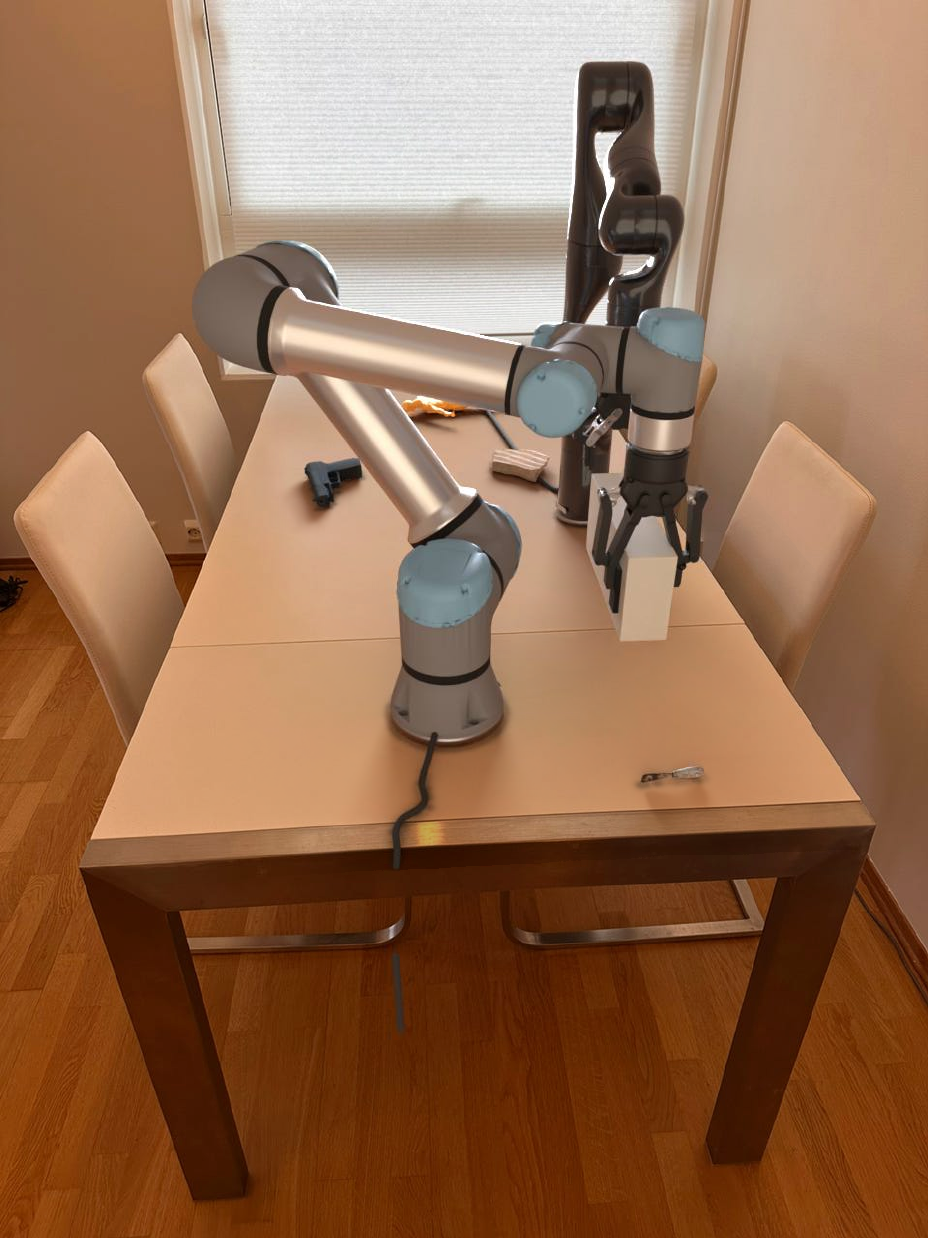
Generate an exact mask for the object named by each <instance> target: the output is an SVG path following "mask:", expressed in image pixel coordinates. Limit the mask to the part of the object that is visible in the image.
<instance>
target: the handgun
mask: <svg viewBox="0 0 928 1238" xmlns="http://www.w3.org/2000/svg"><path fill="white" fill-rule="evenodd" d="M303 471H304V474H305V475H306V477H307V479H308V482H309V485H310V488H311V491H312V493H313V497H314V498H313V499H311V500H312V502H314V503H315V504H316V506H318V508H321V509H323V508H324V509H325V508H329V507H330V505H331V503H332V504H334V502H335V500H334V499H335V498H334V492H333V490H336V489H340V488H341V483H343V482H347V481H351V480H355V479H360V478H361V479H362V478H363V468H362V462H361V461H360V459H359V458H358V457H350V458H346V459H345V458H344V459H341V460H336V461H332V462H329V463H326V462H324V461H321V460H319V461H311V462H308V463H306V464H305V467H304V468H303Z"/></svg>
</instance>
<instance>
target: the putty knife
mask: <svg viewBox="0 0 928 1238" xmlns="http://www.w3.org/2000/svg"><path fill="white" fill-rule="evenodd" d="M704 772H705V771H704V768H702V767H701V766H697V765H695V766H688V767H683V768H679V769H675V770H673V771H671V772H653V773H652V772H651V773H650V772H649V773H644V774H642V776H641V779H640V783H642V784H645V783H648V782H653V781H659V780H665V779H668V778H673V779H674V778H675V779H693V778H694V779H695V778H700V777H702V776H703V775H704Z"/></svg>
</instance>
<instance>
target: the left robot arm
mask: <svg viewBox="0 0 928 1238" xmlns="http://www.w3.org/2000/svg"><path fill="white" fill-rule="evenodd" d="M339 286H340V285H339V281H338V277H337V275H336V273H335V270H334V268H333V267H332V265H331V264H330V263H329V261H328V259H326V258H325V257H324V255H322V254H321V252H319V251H317V249H315V248H313V247H312V246H310V245H309V244H306V243H304V242H301V241H297V240H292V239H291V240H289V239H284V240H271V241H266V242H263V243H260V244H258V245H256V247H253V248H251V249H249V250H246V251H243V252H241V253H238V254H235V255H232V256H229V257H226V258H223V259H221V260H219V261H217V262H214V263H213V264H212V265H211V266H209V267H208V268H207V269H206V270H205V271H204V272H203V273H202V275H201V276H200V277H199V279H198V281H197V283H196V285H195V287H194V290H193V294H192V298H191V299H192V300H191V312H192V314H191V315H192V319H193V322H194V325H195V329H196V330H197V332H198V334H199V336H200V338H201V339H202V341H203V342H204V343H205V345H206V346H207V347H208V348H209V349H210V350H211V351H212V352H213V353H215V354H216V355H217V356H218V357H219V358H221V359H222V360H225V361H226V362H229V363H231V364H234V365H236V366H239V367H242V368H247V369H249V370H254V371H258V372H261V373H267V374H272V375H277V376H282V377H287V376H289V377H293V378H296V379H298V381H299V382H300V383H301V385H302V386H303V387H304V389H305V390H306V391H307V392H308V394H309V395H310V396H311V398H312V399H313V401H314V402H315V403H316V405H318V407H319V408H320V410H321V411H322V412H323V414H324V415H325V416H326V418H327V419H328V420H329V421H330V423H331V424H332V425H333V427H334V428H335V429H336V431H337V432H338V433H339V434H340V436H341V437H342V438H343V440H344V441H345V442H346V444H347V445H348V446H349V448H350V450H352V452H353V453H354V454H355V456H356V458H359V459H360V463H361V464H362V465H363V466H364V467H365V469H366V470H367V471H368V472H369V474H370V476H371V477H372V479H374V480H375V482H376V484H377V485H378V486H379V487H380V488H381V489H382V491H383V492H384V494H385V495H386V496H387V498H388V499H389V500H390V502H391V503H392V505H394V507H395V508H396V510H397V511H398V512H399V514H400V515H401V516H402V518H403V519H404V520H405V521H406V523H407V524H408V533H407V542H408V543H409V545H410V546H411V547H412V549H411V550H410V551H409V552H408V553H406V555H405V556H404V558H403V559H402V561H401V562H400V564H399V567H398V572H397V582H396V591H395V592H396V599H397V603H398V620H399V633H400V634H399V638H400V639H399V640H400V655H401V667H400V669H399V672H398V675H397V678H396V681H395V684H394V687H393V690H392V693H391V696H390V704H389V705H390V718H391V721H392V724H393V725H394V727H395V728H396V729H397V731H398V732H399V733H400V734H402V735H403V736H404V737H406V738H407V739H409V740H411V741H413V742H415V743H417V744H420V745H421V744H422V745H425V746H427V750H426V753H425V756H424V760H423V762H422V766H421V769H420V773H419V778H418V790H419V793H420V797H421V800H420V802H419V804H417V805H416V806H415V807H413V808H411V809H409V810H407V811H405V812H404V813H402V814H401V815H399V816H398V818H397V819H396V820H395V822H394V823H393V826H392V829H391V830H392V831H391V837H392V846H393V847H392V848H393V851H392V853H393V855H392V868H393V869H394V870H398V869H399V868H401V857H402V855H401V854H402V847H401V839H400V831H401V828H402V826H403V824H404V823H405V822H406V821H408V820H409V819H411V818H412V817H415V816H417V815H418V814H420V813H421V812H422V811H424V810H425V808H426V807H427V805H428V804H429V794H428V790H427V787H426V781H427V776H428V772H429V768H430V766H431V762H432V760H433V755H434V752H435V748H436V747H437V748H454V747H455V748H457V747H463V746H467V745H471V744H473V743H476V742H480V741H481V740H483V739H485V738H486V737H488V736H489V735H491V734H492V733H493V732H494V731H495V730H496V729H498V727H499V726H500V724H501V722H502V720H503V717H504V697H503V693H502V690H501V688H502V685H501V683H500V682H499V681H498V679H497V677H496V674H495V672H494V668H493V666H492V664H491V654H492V653H491V651H492V649H491V648H492V647H491V645H492V621H493V618H494V615H495V612H496V610H497V609H498V606H499V605H500V602H501V600H502V598H503V597H504V594H505V592H506V590H507V588H508V586H509V584H510V582H511V581H512V580H513V578H514V576H515V575H516V573H517V571H518V568H519V563H520V560H521V556H522V549H523V542H522V536H521V532H520V529H519V527H518V525H517V523H516V521H515V520H514V518H513V517H512V515H510V514H509V512H507V511H506V510H505V509H504V508H502V506H499V505H497V504H492V503H489V502H488V501H485V500H484V499H483V498H482V496H481V495H480V493H479V492H478V491H477V490H476V489H475V488H471V487H464V486H461V485H459V484H458V483H457V481H456V480H455V479H454V477H453V475H452V474H451V473H450V471H449V470H448V469H447V467H446V466H445V465H444V463H443V462H442V461H441V459H440V458H439V456H438V455H437V454H436V453H435V451H434V450H433V448H432V447H431V445H430V444H429V443H428V441H427V440H426V439H425V437H424V436H423V435H422V433H421V432H420V431H419V429H418V428H417V426H416V424H414V422H413V421H412V420H411V418H410V417H409V416H408V414H407V412H405V411H404V410H403V407H402V406H401V405H400V403H399V401H398V400H397V399H396V398H395V396H394V395H393V393H392V392H391V391H393V392H394V391H395V392H399V393H404V394H409V395H413V396H416V397H418V396H422V397H426V398H431V399H436V400H440V401H445V402H450V403H454V404H459V405H464V406H468V407H467V408H474V409H477V410H482V411H485V410H487V411H490V412H491V413H497V414H501V415H505V416H511V417H515V418H519V419H521V422H522V423H523V424H524V425H525V427H527V428H528V429H529V430H530V431H531V432H533V433H534V434H535V435H537V436H540V437H542V438H547V439H559V438H562V437H564V436H566V435H568V434H571V433H572V432H574V431H575V430H576V429H578V428H579V427H580V426H581V424H582V423H583V422H584V421H585V420H586V419H587V417H588V416H589V415H590V414H591V411H592V409H593V408H594V406H595V404H596V400H597V396H598V394H599V392H604V393H617V394H624V393H625V394H631V406H630V408H631V410H630V419H629V427H628V429H627V441H628V443H627V444H626V447H625V458H624V467H623V473H624V476H623V479H622V481H621V482H620V483H619V486H618V487H615V488H612V489H608V490H606V489H605V488H603V487H601V488H599V489H598V491H597V494H598V499H599V503H600V506H599V512H598V518H597V524H596V530H595V536H594V542H593V548H592V556H593V559H594V562H595V564H596V565H598V566H600V565H603V566H605V569H604V580H603V581H604V584H605V586H606V589H610V595H609V605H610V608H611V611H612V613H618V609H619V599H620V589H621V580H622V568H621V566H620V563H619V562H620V560H621V557H622V555H623V553H624V549H625V548H626V547H627V545H628V542H629V540H630V538H631V536H632V534H633V532H634V530H635V527H636V526H637V525H638V524H639V522H640V520H641V518H645V517H649V516H655V517H657V518H661V519H662V524H663V527H664V528H663V529H664V532H665V534H666V536H667V539H668V541H669V543H670V545H671V547H673V549H674V551H675V553H676V554H677V556H678V559H677V566H676V574H675V581H674V588H680V586H681V584H682V577H683V571H684V570H686V568H687V565H688V564H689V563H692V564H695V563H698V562H699V560H700V556H701V555H700V554H701V538H702V525H703V511H704V508H705V505H706V504H707V501H708V499H709V494H708V492H707V491H706V490H705V488H704V487H703V485H701V484H697V485H695V486H694V485H693V486H692V485H689V484H688V483H687V480H686V477H687V472H688V463H689V456H690V448H689V446H690V445H691V442H692V435H693V427H694V418H695V410H696V404H697V397H698V390H699V385H700V379H701V372H702V371H701V370H702V364H703V359H704V358H703V357H704V345H705V344H704V343H705V333H706V323H705V320H704V318H703V316H701V314H699V313H698V312H696V311H694V310H691V309H688V308H681V307H671V306H666V307H661V308H652V309H648V310H646V311H644V312H642V313H641V315H640V317H639V322H638V323H637V327H635V326H631V327H618V326H605V324H604V325H602V324H590V323H589V324H588V323H586V324H577V323H571V322H569V321H564V322H562V321H561V322H542V323H540V324H539V325H537V327H536V328H535V329H534V331H533V335H532V337H531V341H530V345H527V344H522V343H519V342H515V341H509V340H505V339H500V338H494V337H490V336H485V335H480V334H475V333H472V332H471V333H470V332H466V331H461V330H455V329H452V328H451V329H450V328H447V327H446V328H445V327H441V326H436V325H430V324H426V323H421V322H416V321H410V320H406V319H401V318H397V317H391V316H386V315H382V314H376V313H371V312H367V311H362V310H358V309H357V310H356V309H352V308H349V307H344V306H343V304H342V303H341V301H340V295H339V289H340V287H339ZM621 496H622V498H623V499H624V501H625V502H626V503H627V505H626V508H625V510H624V515H623V518H622V520H621V522H620V524H619V526H618V529H617V531H616V533H615V535H614V537H613V540H612V542H611V544H610V546H609V548H608V551H607V553H606V548H607V542H608V537H609V531H610V526H611V520H612V507H615V505H616V504H617V499H618V498H619V497H621ZM685 496H686V497H685ZM684 497H685V499H686V501H687V510H686V511H687V512H686V513H687V514H686V531H685V545H684V546H685V547H684V548H685V549H684V550H683V547H682V544H681V543H682V542H681V538H680V534H679V530H678V526H677V519H676V513H675V508H676V506H677V505H678V504H679V503H680V502H681V501H682V500H683V499H684ZM391 959H392V975H393V976H392V977H393V986H394V988H393V989H394V1000H395V1001H394V1002H395V1014H396V1027H397V1028H396V1030H397V1033H398V1034H402V1033H404V1032H405V1022H404V1021H405V1020H404V1006H403V1005H404V1004H403V991H402V977H401V964H400V953H397V952H391Z"/></svg>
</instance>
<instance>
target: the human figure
mask: <svg viewBox="0 0 928 1238" xmlns="http://www.w3.org/2000/svg"><path fill="white" fill-rule="evenodd" d="M401 407H402V409H403V410H404V411H405V413H410V414H412V413H414V412H417V408H418V409H420V410H421V411H423V412H424V413H427V414H439V415H443V416H444V417H449V416H450V417H451V418H452V417H453V418H454V417H455V416H456V414H455V411H462V410H464V409H467V408H469V407H468V406H464V405H459V404H454V403H450V402H445V401H440V400H436V399H431V398H426V397H422V396H416V398H415V399H414V400H404V401H403V402H402V406H401ZM450 410H452V411H450Z"/></svg>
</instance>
